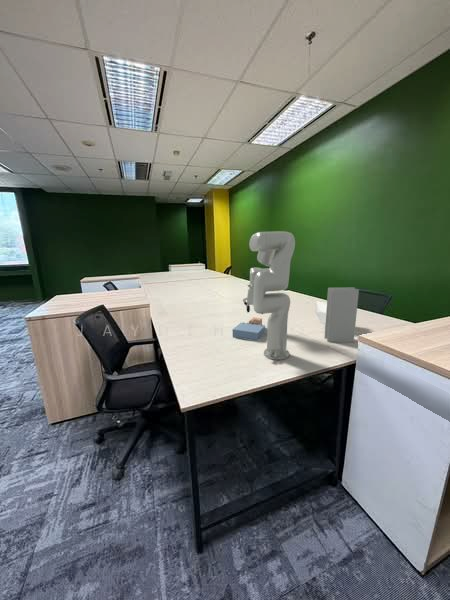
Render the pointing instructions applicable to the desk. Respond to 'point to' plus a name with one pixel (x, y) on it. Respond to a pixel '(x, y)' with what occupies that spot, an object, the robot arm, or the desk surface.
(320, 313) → the folded paper
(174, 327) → the desk surface
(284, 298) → the robot arm
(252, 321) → the stub
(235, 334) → the block
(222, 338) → the desk surface
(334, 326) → the tall grey block
